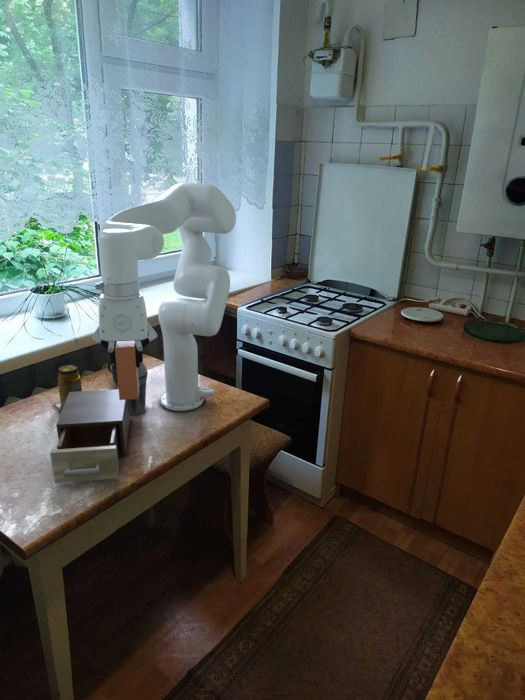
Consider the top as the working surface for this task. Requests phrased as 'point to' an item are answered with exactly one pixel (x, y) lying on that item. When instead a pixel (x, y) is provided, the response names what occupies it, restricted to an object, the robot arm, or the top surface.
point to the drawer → (86, 454)
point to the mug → (113, 372)
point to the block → (127, 370)
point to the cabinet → (96, 412)
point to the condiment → (68, 382)
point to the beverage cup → (139, 404)
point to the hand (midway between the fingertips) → (127, 365)
